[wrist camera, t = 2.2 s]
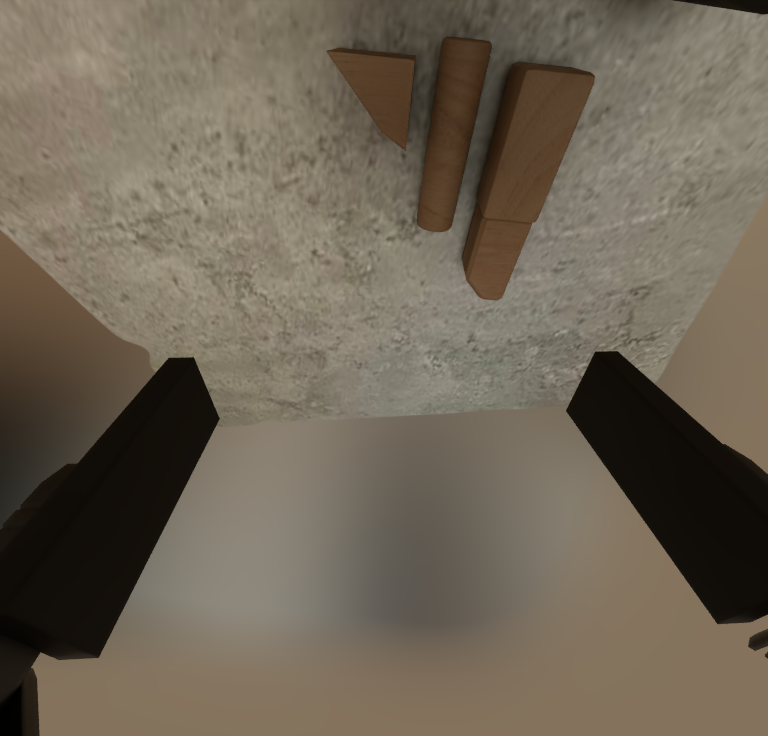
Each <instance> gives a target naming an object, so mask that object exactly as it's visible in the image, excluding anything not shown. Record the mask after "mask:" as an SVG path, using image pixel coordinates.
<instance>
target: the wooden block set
mask: <svg viewBox="0 0 768 736" xmlns="http://www.w3.org/2000/svg"><path fill="white" fill-rule="evenodd" d="M491 49H492V44H491V43H490V42H489V41H484V40H475V39H466V38H456V37H446V38H444V39H443V42H442V46H441V53H440V60H439V67H438V74H437V81H436V88H435V95H434V102H433V109H432V116H431V123H430V130H429V137H428V144H427V151H426V158H425V165H424V172H423V179H422V186H421V193H420V200H419V207H418V214H417V224H418V226H419V227H421V228H423V229H425V230H428V231H433V232H443V231H447V230H449V229H450V228H451V226H452V222H453V218H454V213H455V209H456V205H457V200H458V196H459V191H460V187H461V182H462V178H463V173H464V169H465V165H466V160H467V156H468V151H469V147H470V142H471V138H472V133H473V129H474V125H475V120H476V116H477V111H478V107H479V102H480V98H481V93H482V89H483V85H484V80H485V76H486V71H487V67H488V62H489V58H490V53H491ZM327 53H328V54H329V56H330V57H331V59H332V60H333V62H334V63H335V65H336V66H337V67H338V69H339V70H340V72H341V73H342V75H343V76H344V78H345V79H346V81H347V82H348V84H349V85H350V86H351V88H352V89H353V91H354V92H355V94H356V95H357V97H358V98H359V100H360V101H361V102H362V104H363V105H364V107H365V108H366V110H367V111H368V113H369V114H370V116H371V117H372V119H373V120H374V121H375V123H376V124H377V126H378V127H379V129H380V130H381V132H382V133H384V134H385V135H386V136H387V137H389V138H390V139H391V140H392V141H394V142H395V143H396V144H397V145H399V146H400V147H401V148H402V149H404V150H405V151H406V142H407V132H408V122H409V112H410V103H411V93H412V83H413V73H414V63H415V56H412V55H403V54H393V53H383V52H374V51H364V50H354V49H345V48H337V49H333V50H328V51H327ZM594 79H595V76H594V75H593V74H592V73H591V72H587V71H583V70H579V69H575V68H571V67H561V66H552V65H542V64H532V63H523V62H518V63H515V64H513V66H512V68H511V69H510V72H509V75H508V79H507V83H506V87H505V91H504V94H503V98H502V102H501V106H500V110H499V113H498V117H497V121H496V125H495V128H494V132H493V136H492V140H491V144H490V147H489V151H488V155H487V159H486V163H485V166H484V170H483V174H482V178H481V181H480V185H479V189H478V193H477V201H478V203H477V206H476V209H475V213H474V217H473V220H472V224H471V228H470V232H469V235H468V239H467V243H466V246H465V250H464V254H463V258H462V260H463V266H464V271H465V276H466V280H467V282H468V283H469V284H470V286H471V287H472V288H473V290H474V291H475V293H476V294H477V295H478V297H480V298H482V299H488V300H499V299H501V298H502V297H503V294H504V292H505V289H506V287H507V284H508V282H509V279H510V277H511V274H512V272H513V270H514V267H515V265H516V262H517V260H518V257H519V255H520V252H521V250H522V247H523V245H524V243H525V240H526V238H527V235H528V233H529V230H530V228H531V225H532V223H533V222H536V220H537V219H538V217H539V214H540V212H541V209H542V207H543V205H544V202H545V200H546V197H547V195H548V193H549V190H550V188H551V185H552V183H553V181H554V178H555V176H556V173H557V171H558V168H559V166H560V164H561V161H562V159H563V156H564V154H565V152H566V149H567V147H568V144H569V142H570V140H571V137H572V135H573V132H574V130H575V127H576V125H577V123H578V120H579V118H580V115H581V113H582V111H583V108H584V106H585V103H586V101H587V99H588V96H589V94H590V91H591V89H592V87H593V84H594Z"/></svg>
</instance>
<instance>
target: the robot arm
mask: <svg viewBox="0 0 768 736" xmlns="http://www.w3.org/2000/svg"><path fill="white" fill-rule="evenodd" d="M566 411H567V413H568V414H569V416H570V417H571V419H572V420H573V421H574V423H575V424H576V426H577V427H578V428H579V430H580V431H581V433H582V434H583V435H584V437H585V438H586V440H587V441H588V443H589V444H590V445H591V447H592V448H593V449H594V451H595V452H596V454H597V455H598V457H599V458H600V459H601V461H602V462H603V464H604V465H605V466H606V468H607V469H608V470H609V472H610V473H611V475H612V476H613V477H614V479H615V480H616V482H617V483H618V485H619V486H620V488H621V489H622V490H623V492H624V493H625V495H626V496H627V497H628V499H629V500H630V501H631V503H632V504H633V506H634V507H635V509H636V510H637V511H638V513H639V514H640V516H641V517H642V518H643V520H644V521H645V523H646V524H647V525H648V527H649V528H650V530H651V531H652V532H653V534H654V535H655V537H656V538H657V540H658V541H659V542H660V544H661V545H662V547H663V548H664V549H665V551H666V552H667V554H668V555H669V556H670V558H671V559H672V561H673V562H674V563H675V565H676V566H677V568H678V569H679V571H680V572H681V573H682V575H683V576H684V578H685V579H686V580H687V582H688V583H689V585H690V586H691V587H692V589H693V590H694V592H695V593H696V594H697V596H698V597H699V599H700V600H701V602H702V603H703V604H704V606H705V607H706V608H707V610H708V611H709V613H710V614H711V616H712V617H713V618H714V619H715V621H716V623H717V624H726V623H727V624H728V623H745V622H752V621H754V620H757V619H759V618H761V617H763V616H765V615H768V474H767V473H765V472H764V471H763V470H762V469H761V468H760V467H759V466H757V465H756V464H755V463H754V462H753V461H752V460H750V459H748V458H747V457H745V456H744V455H742V454H740V453H738V452H737V451H735V450H734V449H732V448H730V447H729V446H727V445H725V444H722V443H721V442H720V441H718V440H717V439H716V438H715V437H714V436H713V435H712V434H711V433H709V432H708V431H707V430H706V429H705V428H704V427H703V426H702V425H700V424H699V423H698V422H697V421H696V420H695V419H693V418H692V417H691V416H690V415H689V414H688V413H687V412H686V411H685V410H683V409H682V408H681V407H680V406H679V405H678V404H677V403H675V402H674V401H673V400H672V399H671V398H670V397H669V396H667V395H666V394H665V393H664V392H663V391H662V390H661V389H660V388H658V387H657V386H656V385H655V384H654V383H653V382H652V381H651V380H649V379H648V378H647V377H646V376H645V375H644V374H643V373H641V372H640V371H639V370H638V369H637V368H636V367H635V366H634V365H632V364H631V363H630V362H629V361H628V360H627V359H626V358H624V357H623V356H622V355H621V354H620V353H619V352H618V351H607V352H595V353H594V355H593V357H592V359H591V361H590V363H589V366H588V368H587V370H586V372H585V374H584V376H583V378H582V380H581V382H580V384H579V386H578V388H577V390H576V392H575V394H574V396H573V398H572V400H571V402H570V404H569V406H568V408H567V410H566ZM219 419H220V418H219V416H218V414H217V411H216V409H215V407H214V404H213V402H212V399H211V397H210V395H209V392H208V390H207V388H206V385H205V383H204V380H203V378H202V376H201V373H200V371H199V369H198V366H197V364H196V362H195V359H194V357H192V358H168V359H167V361H166V362H165V363H164V364H163V365H162V366H161V368H160V369H159V370H158V371H157V372H156V373H155V375H154V376H153V377H152V378H151V379H150V380H149V381H148V383H147V384H146V385H145V386H144V387H143V388H142V390H141V391H140V392H139V393H138V394H137V396H136V397H135V398H134V399H133V400H132V401H131V403H129V405H128V406H127V407H126V408H125V409H124V410H123V412H122V413H121V414H120V415H119V416H118V418H117V419H116V420H115V421H114V422H113V423H112V424H111V426H110V427H109V428H108V429H107V430H106V431H105V433H104V434H103V435H102V436H101V437H100V438H99V440H98V441H97V442H96V443H95V444H94V445H93V446H92V448H91V449H90V450H89V451H88V452H87V453H86V454H85V456H84V457H83V458H82V459H81V460H80V462H79V463H78V464H67V465H65V466H64V467H63V468H61V469H60V470H58V471H57V472H56V473H54V474H53V475H51V476H50V477H49V478H47V479H46V480H45V481H43V482H42V483H41V484H40V485H39V486H38V487H37V488H36V489H35V490H34V491H33V492H32V494H31V495H30V496H29V497H28V498H27V499H26V500H25V501H24V502H23V504H21V508H20V509H19V510H16V511H15V512H14V513H13V514H12V515H11V516H10V517H9V519H8V520H7V521H6V522H5V523H4V524H3V528H2V529H1V530H0V736H39V716H38V692H37V678H36V675H35V672H34V670H33V668H31V666H32V665H33V663H34V662H35V660H36V658H37V657H38V655H39V654H40V652H41V653H44V654H46V655H48V656H51V657H54V658H56V659H58V660H66V659H84V658H99V656H100V654H101V652H102V650H103V648H104V646H105V644H106V642H107V640H108V638H109V636H110V634H111V632H112V630H113V628H114V626H115V624H116V622H117V620H118V618H119V616H120V614H121V612H122V611H123V609H124V606H125V604H126V603H127V601H128V599H129V597H130V594H131V593H132V591H133V589H134V586H135V585H136V583H137V581H138V579H139V577H140V575H141V573H142V571H143V569H144V567H145V565H146V563H147V561H148V559H149V557H150V555H151V553H152V551H153V549H154V547H155V545H156V543H157V541H158V539H159V537H160V535H161V534H162V531H163V530H164V527H165V526H166V524H167V522H168V520H169V518H170V516H171V514H172V512H173V510H174V508H175V506H176V504H177V502H178V500H179V498H180V496H181V494H182V492H183V490H184V488H185V486H186V484H187V482H188V480H189V478H190V476H191V474H192V472H193V470H194V468H195V466H196V464H197V462H198V460H199V458H200V457H201V454H202V453H203V451H204V449H205V446H206V444H207V443H208V441H209V439H210V437H211V435H212V433H213V431H214V429H215V427H216V425H217V423H218V421H219ZM766 646H768V629H767V630H764V631H762V632H759V633H757V634H755V635H754V636H752V637H750V640H749V645H748V647H750V648H751V649H753V650H755V651H756V650H758V649H761V648H763V647H766ZM765 657H766V658H768V652H767V653H766V654H765Z"/></svg>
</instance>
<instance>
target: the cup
mask: <svg viewBox="0 0 768 736" xmlns="http://www.w3.org/2000/svg"><path fill="white" fill-rule="evenodd" d="M675 1H681V2H687V3H694V4H700V5H707V6H713V7H720V8H726V9H733V10H739V11H746V12H752V13H758V14H768V0H675Z"/></svg>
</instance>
